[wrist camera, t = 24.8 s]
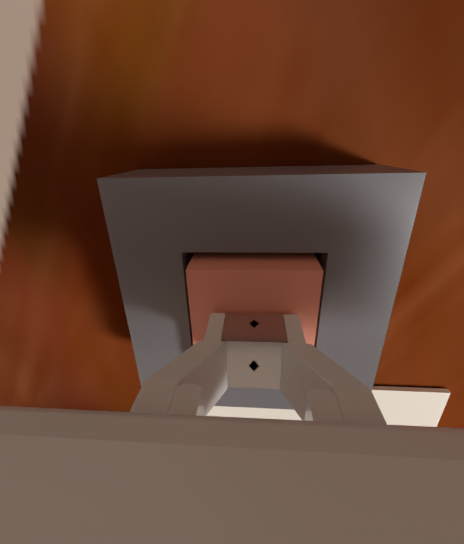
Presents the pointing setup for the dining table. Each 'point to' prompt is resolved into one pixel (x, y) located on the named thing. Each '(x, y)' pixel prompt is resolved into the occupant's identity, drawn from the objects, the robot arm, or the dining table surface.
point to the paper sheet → (391, 400)
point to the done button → (254, 287)
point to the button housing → (262, 250)
